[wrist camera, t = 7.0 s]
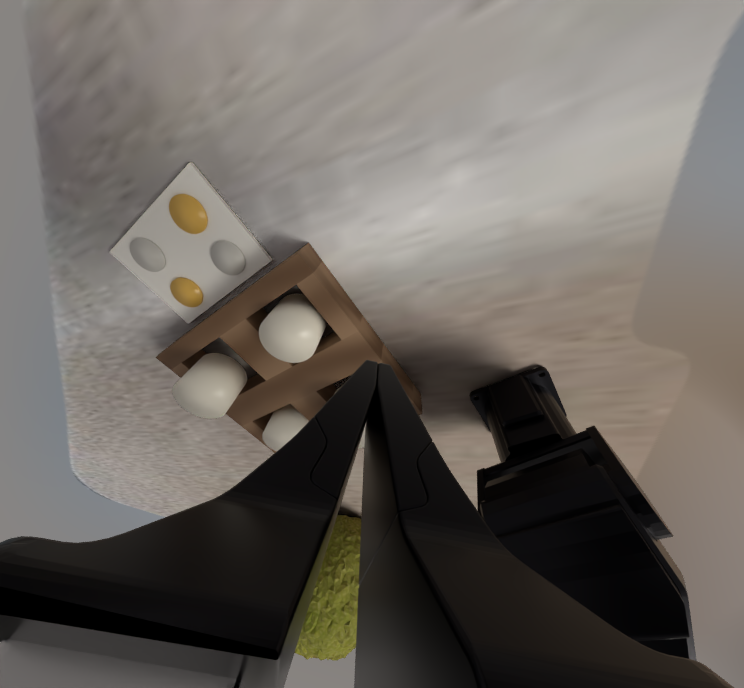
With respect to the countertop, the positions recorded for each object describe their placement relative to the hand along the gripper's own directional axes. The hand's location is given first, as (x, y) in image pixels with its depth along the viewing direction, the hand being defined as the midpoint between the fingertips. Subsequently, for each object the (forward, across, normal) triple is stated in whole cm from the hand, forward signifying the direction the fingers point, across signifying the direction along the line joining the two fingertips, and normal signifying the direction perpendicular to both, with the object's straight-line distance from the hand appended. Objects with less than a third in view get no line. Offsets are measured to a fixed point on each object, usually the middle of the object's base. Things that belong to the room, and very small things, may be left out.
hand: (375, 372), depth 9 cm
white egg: (+12, +6, +6) cm, 14 cm away
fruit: (+12, -1, +40) cm, 41 cm away
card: (+12, +14, +3) cm, 19 cm away
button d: (+9, +11, +11) cm, 19 cm away
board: (+12, +6, +11) cm, 17 cm away
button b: (+12, +6, +17) cm, 21 cm away
